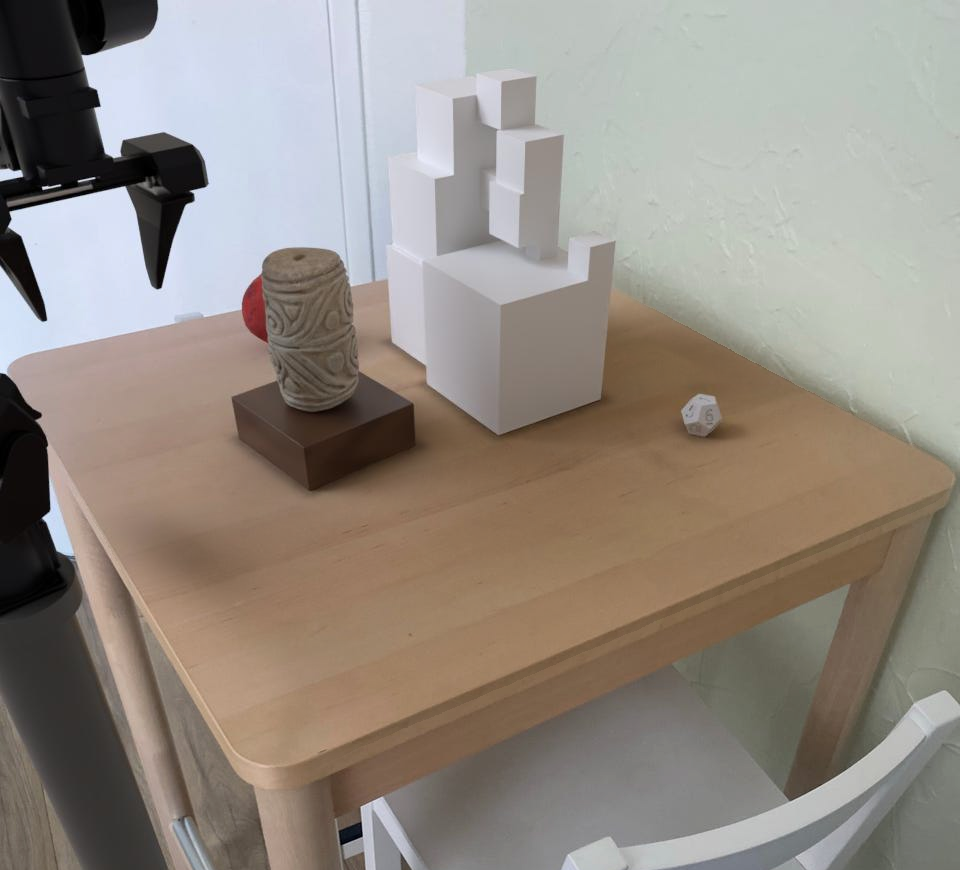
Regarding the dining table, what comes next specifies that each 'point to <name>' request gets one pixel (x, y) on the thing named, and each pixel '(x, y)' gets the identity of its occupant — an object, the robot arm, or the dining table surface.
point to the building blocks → (494, 257)
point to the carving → (310, 327)
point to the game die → (701, 415)
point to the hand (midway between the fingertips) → (101, 303)
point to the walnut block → (325, 431)
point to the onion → (255, 309)
